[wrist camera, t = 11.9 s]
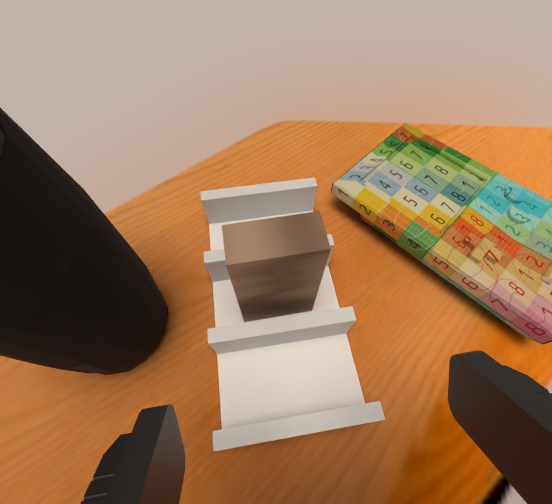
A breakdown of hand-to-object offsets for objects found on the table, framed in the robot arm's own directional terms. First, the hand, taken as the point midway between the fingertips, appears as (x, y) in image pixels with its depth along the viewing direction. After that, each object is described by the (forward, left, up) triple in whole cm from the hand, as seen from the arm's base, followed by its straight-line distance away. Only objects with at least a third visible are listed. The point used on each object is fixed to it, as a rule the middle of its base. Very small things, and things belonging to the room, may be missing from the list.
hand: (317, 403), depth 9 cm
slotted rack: (0, +8, -15) cm, 17 cm away
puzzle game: (+17, +13, -16) cm, 27 cm away
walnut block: (0, +8, -14) cm, 17 cm away
